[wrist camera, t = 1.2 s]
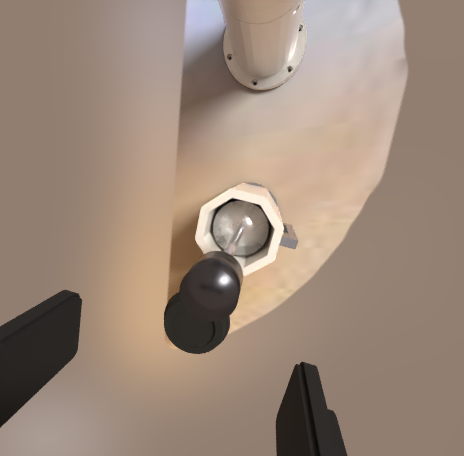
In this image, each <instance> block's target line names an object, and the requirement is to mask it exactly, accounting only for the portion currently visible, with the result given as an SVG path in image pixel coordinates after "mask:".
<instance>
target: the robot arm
mask: <svg viewBox="0 0 464 456" xmlns="http://www.w3.org/2000/svg"><path fill="white" fill-rule="evenodd" d="M218 2H219V5H220V8H221V12H222V15H223V18H224V22H225V25H226V31H225V34H224V41H223V50H224V57H225V61H226V64H227V66H228V68H229V70H230V72H231V74H232V75H233V76H234V78H235V79H236V80H237V81H238V82H239V83H241V84H242V85H244V86H246V87H248V88H250V89H254V90H269V89H273V88H275V87H278V86H280V85H281V84H283V83H285V82H286V81H287V80H288V79H289V78H290V77H292V75H293V74H294V73H295V72H296V70H297V69H298V67H299V65H300V63H301V61H302V58H303V56H304V52H305V48H306V41H307V33H306V26H305V22H304V19H303V17H302V13H303V9H304V4H305V0H218ZM299 30H301V31H299ZM229 58H232V59H231V60H229ZM288 70H291V72H288ZM254 83H257V84H256V85H254ZM81 305H82V299H81V298H80V296H79V294H77V293H74V292H71V291H68V290H63V291H61V292H59V293H57V294H56V295H54V296H52V297H50V298H49V299H47V300H45V301H43V302H42V303H40V304H38V305H37V306H35V307H33V308H31V309H30V310H28V311H26V312H25V313H23V314H21V315H19V316H18V317H16V318H14V319H12V320H11V321H9V322H7V323H5V324H4V325H2V326H0V427H1V426H2V425H3V424H4V423H6V422H7V421H8V420H9V419H10V418H11V417H12V416H13V415H14V414H15V413H16V412H17V411H18V410H19V409H20V408H21V407H22V406H23V405H24V404H25V403H27V401H29V400H30V399H31V398H32V397H33V396H34V395H35V394H36V393H37V392H38V391H39V390H40V389H41V388H42V387H43V386H44V385H45V384H46V383H47V382H48V381H50V380H51V379H52V378H53V377H54V376H55V375H56V374H57V373H58V372H59V371H60V370H61V369H62V368H63V367H64V366H65V365H66V364H67V363H68V362H69V361H71V359H73V357H74V356H75V354H76V352H77V349H78V340H79V328H80V317H81ZM276 446H277V456H347V453H346V450H345V446H344V442H343V439H342V435H341V431H340V428H339V425H338V421H337V417H336V415H335V413H334V411H332V410H329V409H327V405H326V401H325V397H324V393H323V389H322V385H321V381H320V377H319V373H318V369H317V367H316V366H315V365H311V364H308V363H305V362H301V363H300V365H298V364H296V365H295V367H294V370H293V372H292V375H291V378H290V381H289V383H288V386H287V389H286V392H285V395H284V397H283V400H282V403H281V406H280V408H279V411H278V414H277V419H276Z"/></svg>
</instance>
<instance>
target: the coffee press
mask: <svg viewBox="0 0 464 456" xmlns="http://www.w3.org/2000/svg"><path fill="white" fill-rule="evenodd" d="M238 200H243V201H247V202H251V203H254V204H256V205H257V206H258V207H260V208H261V209H262V211H263V212H264V213H265V215H266V217H267V220H268V225H269V231H268V237H267V239H266V241H265V243H264V245H263V246H262V247H261V248H260V249H259V250H257V251H256V252H254V253H252V254H249V255H234V256H233V257H234V258H236V260H237V261H238V262H239V263H240V265H241V268H242V271H243V276H244V275H245V276H246V275H248V274H250V273H252V272H254V271H256V270H258V269H260V268H262V267H264V266H266V265H267V264H269V263H271V262H273V261H274V260H275V258H276V254H277V251H278V247H279V245H281V246H284V247H288V248H292V249H296V246H297V243H298V239H297V237H296V234H295V232H294V230H293V227H292V225H289V224H285V223H283V222H282V219H281V215H280V212H279V208H278V205H277V202H276V200H275V198H274V196H273V195H272V193H271V192H270V191H269V190H268V189H267V188H265V187H263V186H261V185H259V184H256V183H242V184H239V185H236V186H234V187H232V188H230V189H229V190H227V191H226V192H224V193H222V194H221V195H219V196H218V197H216V198H214V199H213V200H211V201H210V202H208V203H206V204H205V205H203V206H202V207H201V211H200V216H199V220H198V225H197V230H196V235H195V240H196V242H197V244H198V245H199V247H200V248H201V250H202V251H203V253H204V254H205V253H207V252H211V251H224V249H223V248H222V247H221V246H220V245H219V244H218V242H217V241H216V239H215V236H214V232H213V223H214V219H215V217H216V215H217V213H218V212H219V210H220V209H221V208H222V207H224V206H225V205H226V204H228V203H230V202H233V201H238ZM283 232H284V235H283Z"/></svg>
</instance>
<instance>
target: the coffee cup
mask: <svg viewBox="0 0 464 456" xmlns="http://www.w3.org/2000/svg"><path fill="white" fill-rule="evenodd" d="M164 328H165V332H166V334H167V336H168V338H169V339H170V341H171V342H172V343H173V344H174V345H175V346H176V347H178V348H179V349H181V350H183V351H185V352H188V353H193V354H202V353H206V352H209V351H211V350H212V349H214V348H215V347H216V346H218V345H219V344H220V343H221V342H222V341H223V340H224V338H225V337H226V335H227V334H228V331H229V328H230V317H229V316H228V317H227V318H225V319H223V320H220V321H214V322H209V321H204V320H200V319H198V318H196V317H194V316H193V315H191V314H190V313H189V312H188V311H187V310H186V308H185V307H184V305H183V304H182V301H181V298H180V292H178V293H176V294H175V295H174V296H173V297H172V298H171V299H170V300H169V302H168V304H167V306H166V308H165V312H164Z"/></svg>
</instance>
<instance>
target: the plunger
mask: <svg viewBox="0 0 464 456" xmlns="http://www.w3.org/2000/svg"><path fill="white" fill-rule="evenodd" d="M268 231H269V225H268V220H267V217H266V215H265V213H264V212H263V211H262V209H261V208H260V207H258V206H257V205H256V204H254V203H251V202H247V201H243V200H238V201H233V202H230V203H228V204H226V205H225V206H224V207H222V208H221V209H220V210H219V212H218V213H217V215H216V217H215V219H214V223H213V232H214V236H215V239H216V241H217V242H218V244H219V245H220V246H221V247H222V248H223V249H224V251H211V252H207V253H205V254H204V255H202V256H201V257H200V258H199V259H198V260H197V262H196V263H195V264H194V265H193V267H192V268H191V269H190V270H189V272H188V273H187V274H186V275H185V277H184V278H183V280H182V282H181V285H180V298H181V301H182V304H183V305H184V307H185V308H186V310H187V311H188V312H189V313H190V314H191V315H193V316H194V317H196V318H198V319H200V320H204V321H209V322H214V321H220V320H223V319H225V318H227V317H228V316H229V315H230V314H231V313H232V312H233V311H234V310H235V308H236V306H237V302H238V298H239V294H240V290H241V285H242V281H243V271H242V268H241V265H240V263H239V262H238V261H237V260H236V258H234V257H233V256H234V255H249V254H252V253H254V252H256V251H257V250H259V249H260V248H261V247H262V246H263V245H264V243H265V241H266V239H267V237H268Z"/></svg>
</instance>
